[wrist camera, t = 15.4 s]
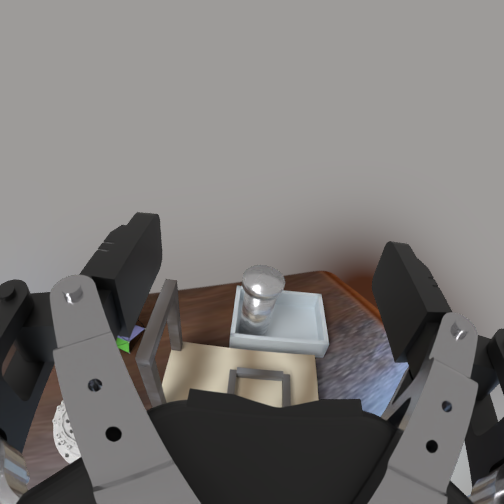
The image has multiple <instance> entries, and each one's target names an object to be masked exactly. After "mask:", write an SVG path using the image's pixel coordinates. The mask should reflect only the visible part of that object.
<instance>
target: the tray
mask: <svg viewBox="0 0 504 504" xmlns="http://www.w3.org/2000/svg"><path fill="white" fill-rule="evenodd" d="M244 294H245V291H244V289H243V287H242V286H237V290H236V297H235V304H234V312H233V319H232V326H231V333H230V345H229V348H235V349H244V350H254V351H265V352H276V353H290V354H305V355H315V357H319V358H323V357H324V355H325V353H326V351H327V348H328V346H329V340H328V333H327V326H326V320H325V314H324V308H323V302H322V296H321V294H314V293H304V292H293V291H283V292H282V294H281V295H280V296H279V297H278V298H277V299H276V302H275V306H274V310H273V313H272V317H271V321H270V324H269V328H268V331H267V335H266V336H255V335H246V334H239V332H238V329H239V323H240V317H241V311H242V306H243V300H244Z"/></svg>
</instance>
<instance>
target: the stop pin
mask: <svg viewBox="0 0 504 504" xmlns="http://www.w3.org/2000/svg"><path fill="white" fill-rule="evenodd" d="M284 285H285V278H284V276H283V275H282V274H281V273H280V272H279V271H278V270H276V269H275V268H272V267H269V266H265V265H256V266H253V267H250V268H248V269H247V270H246V271H245V272H244V275H243V281H242V287H243V289H244V291H245V294H244V300H243V306H242V311H241V317H240V323H239V329H238V332H239V334H246V335H255V336H266V335H267V331H268V328H269V324H270V321H271V317H272V313H273V310H274V306H275V302H276V299H277V298H278V297H279V296H280V295H281V294H282V292H283V289H284Z"/></svg>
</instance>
